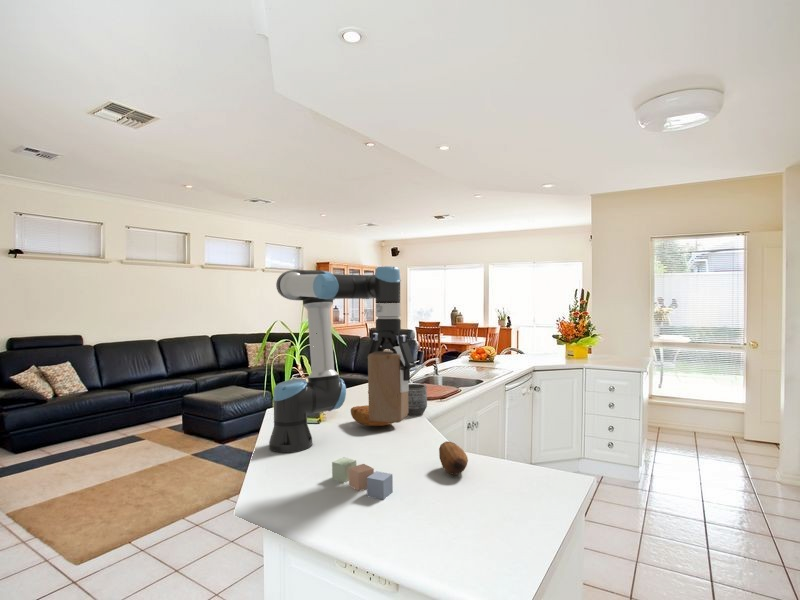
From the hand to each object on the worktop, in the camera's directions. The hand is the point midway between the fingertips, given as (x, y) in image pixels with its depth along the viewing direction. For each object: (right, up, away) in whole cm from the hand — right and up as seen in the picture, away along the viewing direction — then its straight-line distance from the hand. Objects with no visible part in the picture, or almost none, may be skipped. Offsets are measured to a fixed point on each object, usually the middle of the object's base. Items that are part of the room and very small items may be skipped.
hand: (388, 388), depth 134 cm
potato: (+20, -25, 0) cm, 32 cm away
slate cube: (-2, -25, -15) cm, 30 cm away
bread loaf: (-7, -26, +53) cm, 59 cm away
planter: (+10, -26, +71) cm, 77 cm away
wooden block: (0, -9, 0) cm, 9 cm away
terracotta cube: (-7, -25, -9) cm, 28 cm away
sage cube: (-13, -26, -4) cm, 29 cm away
